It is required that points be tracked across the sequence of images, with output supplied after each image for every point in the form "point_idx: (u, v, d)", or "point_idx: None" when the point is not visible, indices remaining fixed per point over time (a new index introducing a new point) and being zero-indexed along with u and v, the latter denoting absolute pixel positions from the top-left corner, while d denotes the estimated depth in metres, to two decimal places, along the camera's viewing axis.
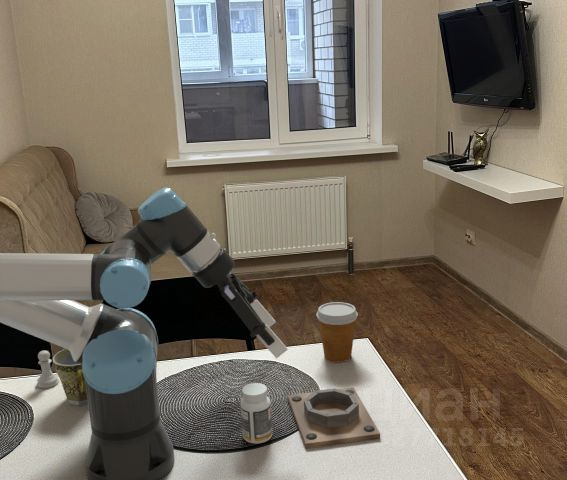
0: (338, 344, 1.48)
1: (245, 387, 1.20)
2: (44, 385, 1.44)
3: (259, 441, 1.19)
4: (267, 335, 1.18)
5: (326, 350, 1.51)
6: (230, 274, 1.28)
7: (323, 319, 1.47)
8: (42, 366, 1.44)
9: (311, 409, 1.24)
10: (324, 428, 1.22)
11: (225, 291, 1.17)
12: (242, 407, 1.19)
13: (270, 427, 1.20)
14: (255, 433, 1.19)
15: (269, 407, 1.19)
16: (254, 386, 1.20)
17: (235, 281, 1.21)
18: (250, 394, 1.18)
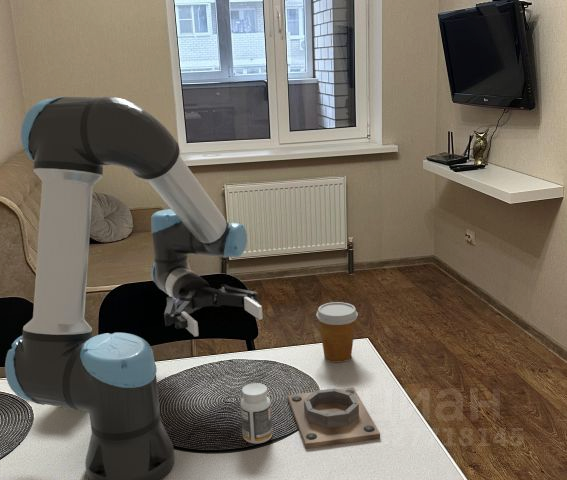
0: (338, 344, 1.48)
1: (245, 387, 1.20)
2: None
3: (259, 441, 1.19)
4: None
5: (326, 350, 1.51)
6: (176, 308, 1.35)
7: (323, 319, 1.47)
8: None
9: (311, 409, 1.24)
10: (324, 428, 1.22)
11: None
12: (242, 407, 1.19)
13: (270, 427, 1.20)
14: (255, 433, 1.19)
15: (269, 407, 1.19)
16: (254, 386, 1.20)
17: None
18: (250, 394, 1.18)
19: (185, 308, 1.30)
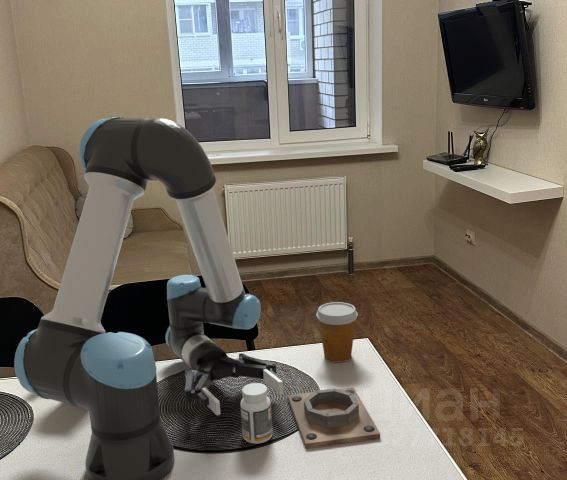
0: (338, 344, 1.48)
1: (245, 387, 1.20)
2: None
3: (259, 441, 1.19)
4: None
5: (326, 350, 1.51)
6: (194, 380, 1.34)
7: (323, 319, 1.47)
8: None
9: (311, 409, 1.24)
10: (324, 428, 1.22)
11: None
12: (242, 407, 1.19)
13: (270, 427, 1.20)
14: (255, 433, 1.19)
15: (269, 407, 1.19)
16: (254, 386, 1.20)
17: None
18: (250, 394, 1.18)
19: (205, 383, 1.29)
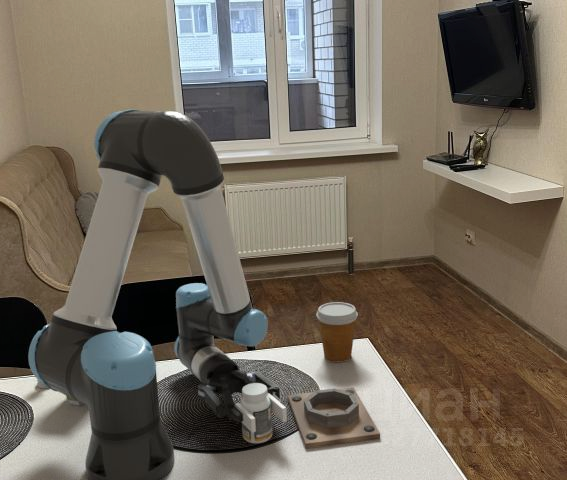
0: (338, 344, 1.48)
1: (245, 387, 1.20)
2: (44, 385, 1.44)
3: (259, 441, 1.19)
4: None
5: (326, 350, 1.51)
6: None
7: (323, 319, 1.47)
8: None
9: (311, 409, 1.24)
10: (324, 428, 1.22)
11: None
12: None
13: (270, 427, 1.20)
14: (255, 432, 1.19)
15: (269, 407, 1.19)
16: (254, 386, 1.20)
17: None
18: (250, 394, 1.18)
19: (231, 397, 1.23)
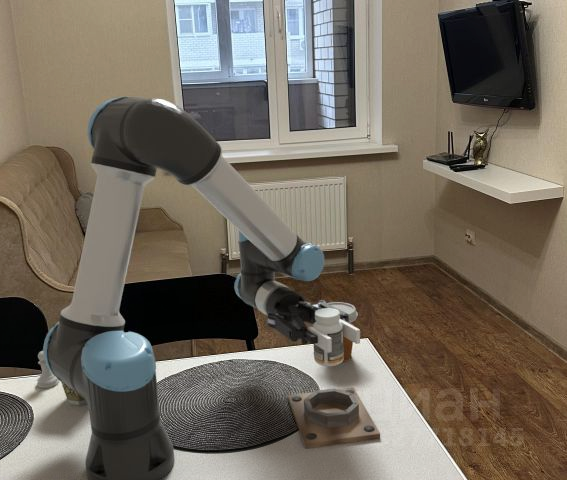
0: None
1: (317, 311, 1.22)
2: (44, 385, 1.44)
3: (332, 363, 1.21)
4: None
5: None
6: None
7: None
8: (42, 366, 1.44)
9: (311, 409, 1.24)
10: (324, 428, 1.22)
11: None
12: None
13: (342, 350, 1.22)
14: (328, 355, 1.21)
15: (342, 330, 1.21)
16: (326, 310, 1.23)
17: None
18: (324, 316, 1.20)
19: None
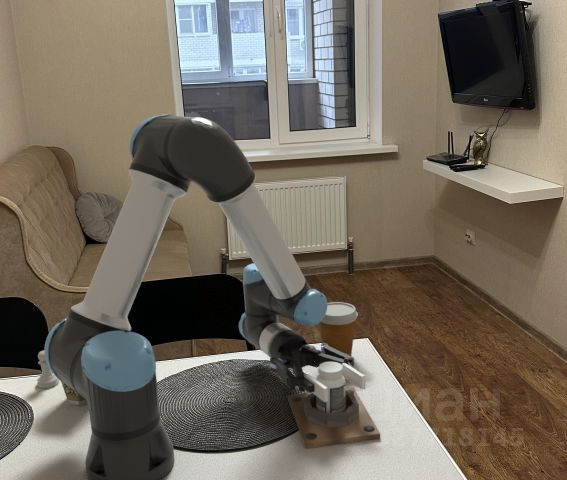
0: (338, 344, 1.48)
1: (321, 365, 1.25)
2: (44, 385, 1.44)
3: None
4: None
5: None
6: None
7: (323, 319, 1.47)
8: (42, 366, 1.44)
9: (311, 409, 1.24)
10: (324, 428, 1.22)
11: None
12: None
13: (344, 404, 1.25)
14: (330, 408, 1.24)
15: (344, 384, 1.24)
16: (330, 364, 1.25)
17: None
18: (328, 371, 1.23)
19: (301, 369, 1.27)
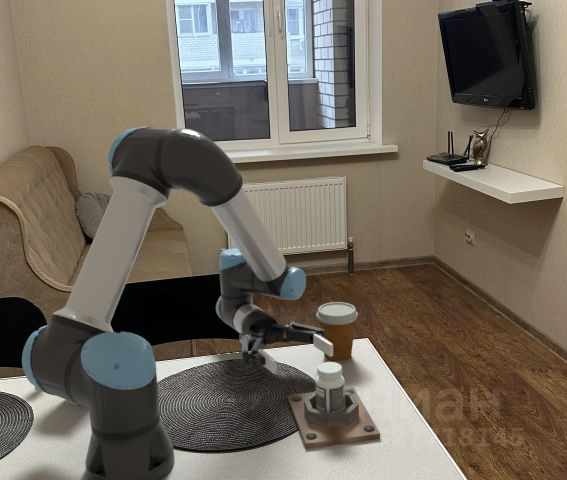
0: (338, 344, 1.48)
1: (320, 366, 1.25)
2: None
3: None
4: None
5: None
6: (248, 344, 1.43)
7: (323, 319, 1.47)
8: None
9: (311, 409, 1.24)
10: (324, 428, 1.22)
11: None
12: (318, 385, 1.24)
13: (344, 404, 1.25)
14: (330, 409, 1.24)
15: (344, 385, 1.24)
16: (329, 364, 1.25)
17: None
18: (327, 372, 1.22)
19: (260, 345, 1.38)
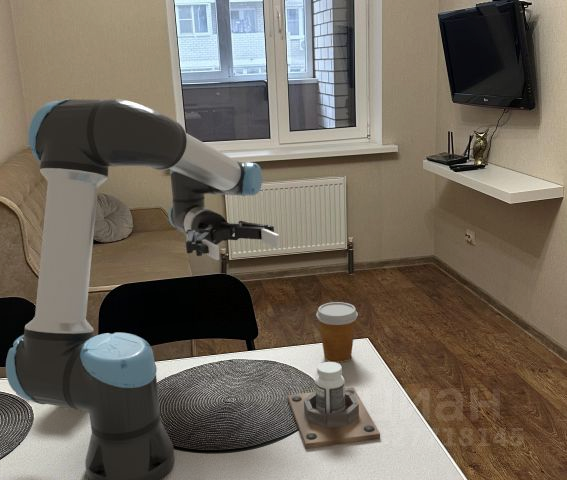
0: (338, 344, 1.48)
1: (320, 365, 1.25)
2: None
3: None
4: None
5: (326, 350, 1.51)
6: (195, 240, 1.40)
7: (323, 319, 1.47)
8: None
9: (311, 409, 1.24)
10: (324, 428, 1.22)
11: None
12: (318, 384, 1.24)
13: (344, 404, 1.25)
14: (330, 409, 1.24)
15: (344, 384, 1.24)
16: (329, 364, 1.25)
17: None
18: (327, 372, 1.23)
19: (205, 238, 1.35)
